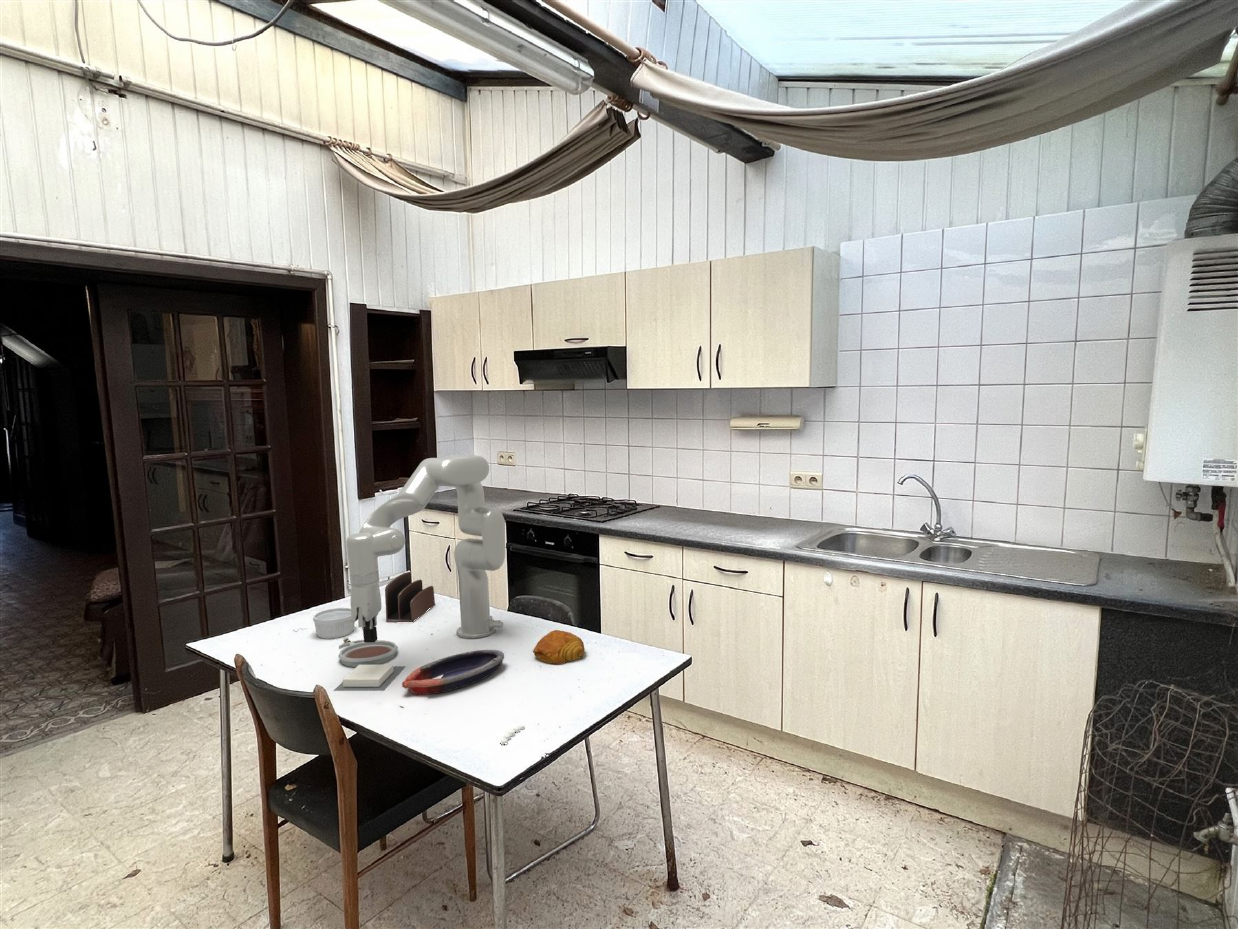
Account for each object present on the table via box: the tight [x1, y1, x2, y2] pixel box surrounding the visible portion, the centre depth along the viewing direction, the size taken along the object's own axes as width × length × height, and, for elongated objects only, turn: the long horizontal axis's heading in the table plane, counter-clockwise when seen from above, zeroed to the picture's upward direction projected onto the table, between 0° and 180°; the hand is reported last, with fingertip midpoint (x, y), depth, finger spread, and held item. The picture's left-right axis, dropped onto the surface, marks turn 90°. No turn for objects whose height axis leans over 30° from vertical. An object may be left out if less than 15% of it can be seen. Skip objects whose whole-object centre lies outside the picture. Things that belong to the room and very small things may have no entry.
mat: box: [332, 665, 407, 692], centre depth 189 cm, size 14×16×1 cm
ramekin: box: [312, 607, 356, 640], centre depth 227 cm, size 13×13×7 cm
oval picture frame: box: [337, 636, 399, 668], centre depth 208 cm, size 17×3×28 cm
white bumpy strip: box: [499, 724, 526, 744], centre depth 155 cm, size 15×4×2 cm, turn 154°
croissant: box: [532, 629, 586, 665], centre depth 203 cm, size 14×16×8 cm
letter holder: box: [384, 571, 436, 623], centre depth 245 cm, size 10×20×14 cm, turn 172°
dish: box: [401, 649, 505, 695], centre depth 187 cm, size 16×31×5 cm, turn 131°
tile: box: [342, 664, 394, 687], centre depth 188 cm, size 10×2×10 cm
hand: (370, 641), depth 188 cm, fingers closed
